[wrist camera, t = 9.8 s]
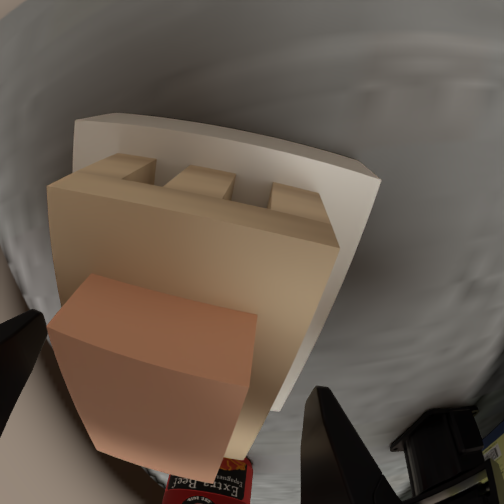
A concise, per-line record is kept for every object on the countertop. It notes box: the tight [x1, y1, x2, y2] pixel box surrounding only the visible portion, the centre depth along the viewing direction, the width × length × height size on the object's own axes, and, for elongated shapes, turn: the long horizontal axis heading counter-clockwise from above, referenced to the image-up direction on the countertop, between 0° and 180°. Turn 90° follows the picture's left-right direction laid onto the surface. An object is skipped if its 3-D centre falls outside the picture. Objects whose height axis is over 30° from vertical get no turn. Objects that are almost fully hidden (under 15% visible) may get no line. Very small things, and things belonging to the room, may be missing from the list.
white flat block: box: [72, 113, 381, 412], centre depth 13 cm, size 12×10×3 cm
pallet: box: [47, 153, 340, 460], centre depth 10 cm, size 10×6×4 cm, turn 168°
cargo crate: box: [46, 273, 257, 484], centre depth 7 cm, size 6×4×2 cm, turn 168°
